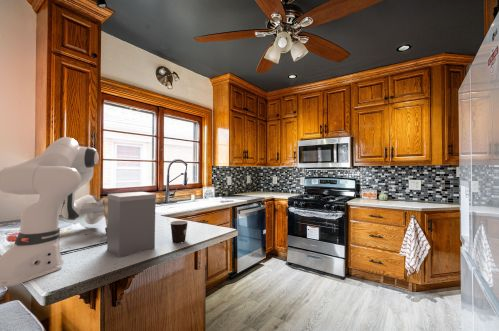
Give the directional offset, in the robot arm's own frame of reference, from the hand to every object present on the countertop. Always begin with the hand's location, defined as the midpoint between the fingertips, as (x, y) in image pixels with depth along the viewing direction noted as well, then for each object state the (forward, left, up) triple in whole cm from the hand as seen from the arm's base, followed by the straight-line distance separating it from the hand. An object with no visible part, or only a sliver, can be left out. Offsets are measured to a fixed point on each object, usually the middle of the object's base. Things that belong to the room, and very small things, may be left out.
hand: (107, 200), depth 136 cm
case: (-16, -28, -19) cm, 38 cm away
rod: (-1, -1, -9) cm, 9 cm away
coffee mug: (-2, -44, -20) cm, 48 cm away
